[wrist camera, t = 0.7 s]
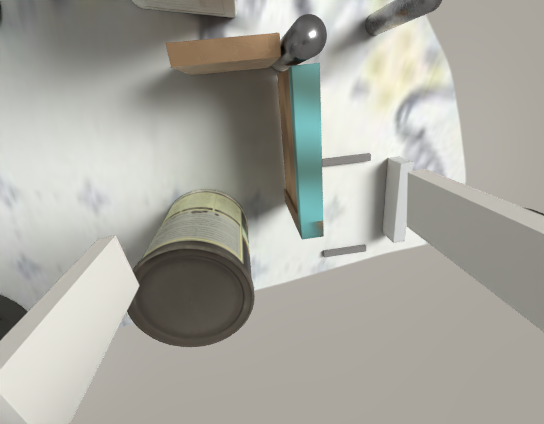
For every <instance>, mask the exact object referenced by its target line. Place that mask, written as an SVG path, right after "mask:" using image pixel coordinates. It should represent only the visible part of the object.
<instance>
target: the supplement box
mask: <svg viewBox="0 0 544 424" xmlns="http://www.w3.org/2000/svg"><path fill="white" fill-rule="evenodd" d="M131 1H132V2H133V3H135V4H136V5H137V6H138V7H140V8H144V9H152V10H162V11H172V12H183V13H193V14H203V15H213V16H223V17H236V14H237V0H131Z"/></svg>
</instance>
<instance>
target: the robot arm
mask: <svg viewBox="0 0 544 424" xmlns="http://www.w3.org/2000/svg"><path fill="white" fill-rule="evenodd" d="M407 227H408V228H410V229H411V230H412V231H414V232H415V233H416V234H417V235H419V236H420V237H421V238H423V239H424V240H425V241H427V242H428V243H429V244H430V245H432V246H433V247H434V248H436V249H437V250H438V251H440V252H441V253H442V254H443V255H445V256H446V257H447V258H449V259H450V260H451V261H453V262H454V263H455V264H456V265H458V266H459V267H460V268H462V269H463V270H464V271H465V272H467V273H468V274H469V275H471V276H472V277H473V278H475V279H476V280H477V281H478V282H480V283H481V284H482V285H484V286H485V287H486V288H487V289H489V290H490V291H491V292H493V293H494V294H495V295H496V296H498V297H499V298H500V299H502V300H503V301H504V302H505V303H507V304H508V305H509V306H511V307H512V308H513V309H515V310H516V311H517V312H518V313H520V314H521V315H522V316H524V317H525V318H526V319H527V320H529V321H530V322H531V323H533V324H534V325H535V326H537V327H538V328H539V329H540V330H542V331H543V332H544V214H543V213H540V212H537V211H535V210H532V209H527V208H523V207H520V206H517V205H515V204H512V203H510V202H507V201H505V200H502V199H500V198H497V197H495V196H492V195H490V194H487V193H484V192H482V191H479V190H477V189H474V188H471V187H469V186H467V185H464V184H462V183H459V182H457V181H454V180H451V179H449V178H446V177H444V176H441V175H439V174H436V173H434V172H431V171H429V170H426V169H420V170H416V171H411V172H408V183H407ZM138 288H139V284H138V281H137V279H136V277H135V275H134V273H133V271H132V269H131V267H130V265H129V262H128V260H127V258H126V256H125V254H124V252H123V250H122V248H121V246H120V244H119V241H118V239H117V237H116V235H115V236H110V237H106V238H101V239H98V240H97V241H96V242H95V243H94V244H93V245H92V246H91V247H90V248H89V249H88V250H87V251H86V252H85V253H84V254H83V255H82V256H81V257H80V258H79V259H78V260H77V261H76V262H75V264H74V265H73V266H72V267H71V268H70V269H69V270H68V271H67V272H66V273H65V274H64V275H63V276H62V277H61V278H60V279H59V280H58V281H57V282H56V283H55V284H54V285H53V286H52V287H51V289H50V290H49V291H48V292H47V293H46V294H45V295H44V296H43V297H42V298H41V299H40V300H39V301H38V302H37V303H36V304H35V305H34V306H33V307H32V308H31V309H30V310H29V311H28V312H27V311H26V310H25V309H23V308H22V307H21V306H19V305H18V304H16V303H15V302H13V301H12V300H10V299H8V298H6V297H4V296H1V295H0V424H70V422H71V420H72V418H73V416H74V414H75V412H76V410H77V408H78V406H79V404H80V402H81V400H82V398H83V396H84V394H85V392H86V390H87V388H88V386H89V384H90V382H91V381H92V379H93V377H94V374H95V372H96V370H97V369H98V367H99V365H100V363H101V361H102V359H103V357H104V355H105V353H106V351H107V349H108V347H109V345H110V343H111V341H112V339H113V337H114V335H115V333H116V331H117V329H118V327H119V325H120V323H121V321H122V319H123V317H124V316H125V314H126V312H127V310H128V308H129V306H130V304H131V302H132V300H133V298H134V296H135V294H136V292H137V290H138Z"/></svg>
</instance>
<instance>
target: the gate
mask: <svg viewBox="0 0 544 424" xmlns="http://www.w3.org/2000/svg"><path fill="white" fill-rule="evenodd" d="M288 68H289V69H287V70H285V71H283V72H281V73H279V74H277V78H278V91H279V104H280V116H281V129H282V142H283V155H284V168H285V180H286V189H284V194H285V202H286V205H287V207H288V209H289V211H290V214H291V216H292V218H293V220H294V223H295V225H296V227H297V229H298V232H299V234H300V236H301V238H302V239H308V238H315V237H322V236H323V192H322V147H321V102H320V63H314V64H304V65H294V66H290V67H288Z"/></svg>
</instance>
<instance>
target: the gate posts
mask: <svg viewBox="0 0 544 424" xmlns="http://www.w3.org/2000/svg"><path fill="white" fill-rule="evenodd" d="M441 1H442V0H394V1H393V2H391V3H389V4H388V5H386V6H384V7H383V8H381V9H379V10H378V11H376V12H374V13H373V14H371V15H370V16H369V17H368V19H367V21H366V30H367V32H368V33H369V34H370V35H373V36H375V35H378V34H380V33H383V32H385V31H387V30H390V29H392V28H394V27H397V26H399V25H401V24H404V23H406V22H408V21H411V20H413V19H415V18H418V17H420V16H422V15H425V14H427V13H429V12H432V11H434V10H435V9H437V8H438V7H439V5H440V4H441ZM326 38H327V32H326V28H325V25H324V23H323V22H322V20H321V19H320V18H319V17H317V16H315V15H312V14H306V15H303V16H301V17H299V18H298V19H297V20H296V21H295V23H294V24H293V25H292V26H291V28H290V29H289V30H288V31H287V33H286V34H285V35H284V36H283V38H282V39H281V40H280V35H279V33H272V34H261V35H250V36H239V37H227V38H216V39H205V40H194V41H183V42H172V43H166V46H167V51H168V55H169V60H170V65H171V67H172V68H174V69H177V70H179V71H182V72H184V73H186V74H189V75H198V74H208V73H218V72H229V71H239V70H249V69H259V68H269V67H270V66H271V65H272V66H273V68H274V69H276V70H277V71H285V70H287V69H289V68H288V67H290V66H294V65H298V64H300V63H302V62H304V61H306V60H308V59H310V58H312V57H314V56H316V55H317V54H319V53H320V52H321V51H322V49H323V48H324V46H325V43H326Z"/></svg>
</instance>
